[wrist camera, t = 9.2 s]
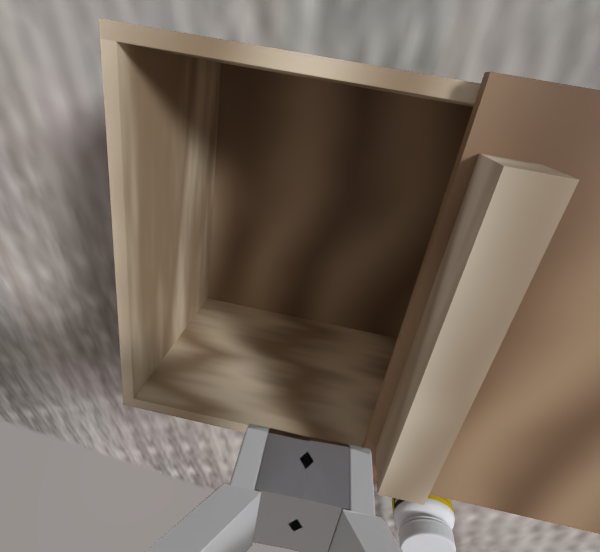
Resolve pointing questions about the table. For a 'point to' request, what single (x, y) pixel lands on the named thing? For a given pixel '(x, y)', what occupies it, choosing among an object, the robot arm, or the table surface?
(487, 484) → the lid
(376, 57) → the table surface
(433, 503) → the supplement bottle
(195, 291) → the box
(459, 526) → the table surface
